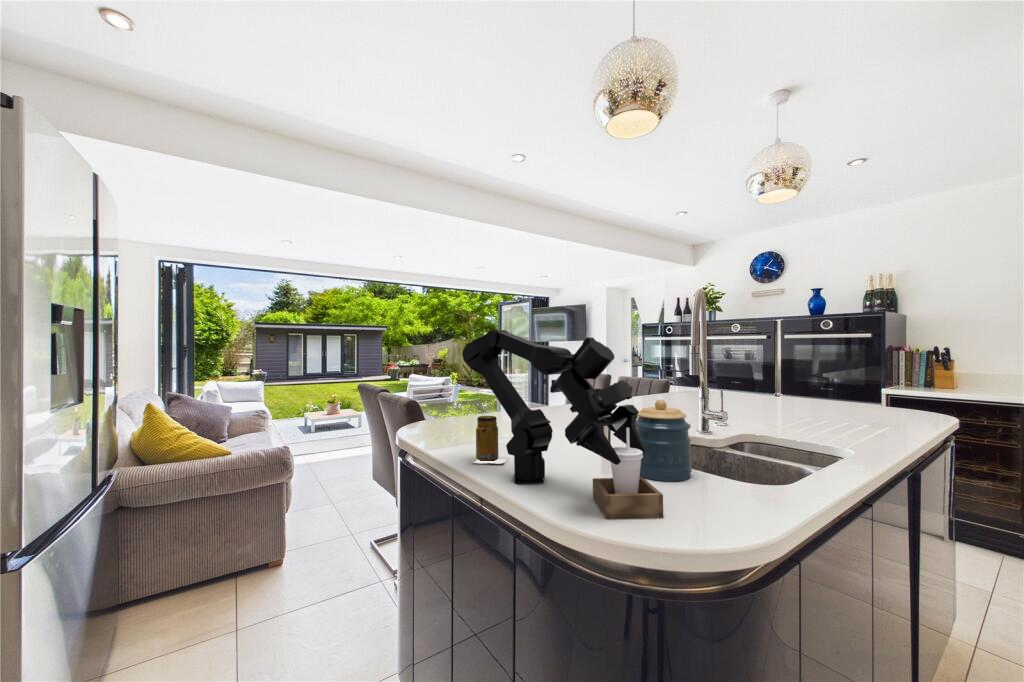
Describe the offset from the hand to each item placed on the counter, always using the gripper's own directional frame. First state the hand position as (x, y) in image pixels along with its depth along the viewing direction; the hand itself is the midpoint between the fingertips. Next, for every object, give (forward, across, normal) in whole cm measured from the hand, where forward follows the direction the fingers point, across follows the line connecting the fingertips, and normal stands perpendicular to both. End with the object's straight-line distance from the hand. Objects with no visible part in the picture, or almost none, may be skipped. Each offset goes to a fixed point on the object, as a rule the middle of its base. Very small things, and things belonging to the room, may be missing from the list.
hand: (631, 458), depth 76 cm
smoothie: (+5, 0, +7) cm, 9 cm away
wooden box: (+6, 0, +8) cm, 9 cm away
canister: (+3, +25, +11) cm, 28 cm away
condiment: (-25, +5, +38) cm, 46 cm away
